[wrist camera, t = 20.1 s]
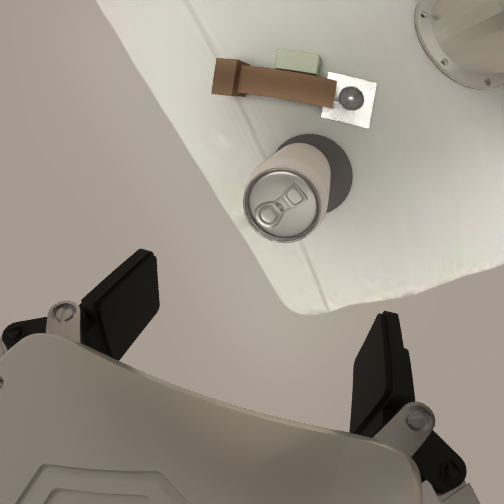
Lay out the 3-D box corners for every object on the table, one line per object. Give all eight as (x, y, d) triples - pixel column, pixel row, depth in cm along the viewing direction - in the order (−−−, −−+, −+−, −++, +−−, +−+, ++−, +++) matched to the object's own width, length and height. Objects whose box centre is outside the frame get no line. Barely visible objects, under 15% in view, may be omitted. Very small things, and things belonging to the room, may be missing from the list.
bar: (331, 112, 27) (330, 113, 23) (227, 94, 29) (211, 93, 25) (337, 79, 25) (338, 75, 21) (231, 63, 27) (216, 58, 23)
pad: (359, 144, 29) (360, 145, 28) (341, 221, 33) (341, 223, 33) (276, 127, 30) (275, 127, 30) (265, 204, 35) (264, 205, 34)
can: (259, 165, 32) (219, 197, 22) (305, 130, 29) (287, 142, 19) (295, 211, 33) (275, 263, 23) (342, 178, 30) (345, 218, 20)
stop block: (320, 59, 25) (318, 54, 23) (317, 76, 26) (316, 73, 24) (282, 53, 26) (276, 49, 24) (279, 71, 27) (274, 67, 25)
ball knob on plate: (376, 83, 25) (384, 79, 20) (368, 128, 28) (374, 132, 23) (328, 72, 26) (327, 65, 21) (321, 117, 28) (318, 119, 24)
